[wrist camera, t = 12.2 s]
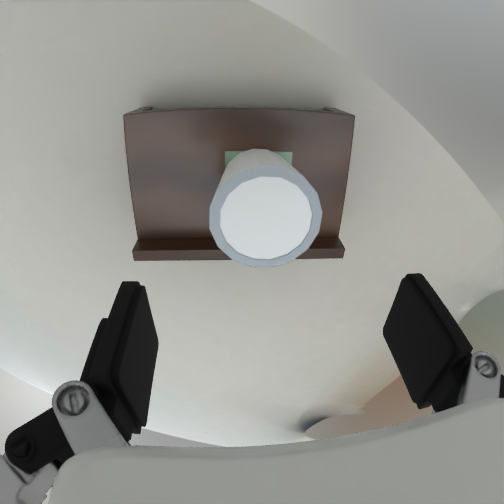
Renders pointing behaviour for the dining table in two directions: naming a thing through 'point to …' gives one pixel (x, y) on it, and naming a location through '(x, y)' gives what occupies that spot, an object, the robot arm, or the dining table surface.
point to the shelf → (214, 164)
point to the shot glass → (264, 210)
